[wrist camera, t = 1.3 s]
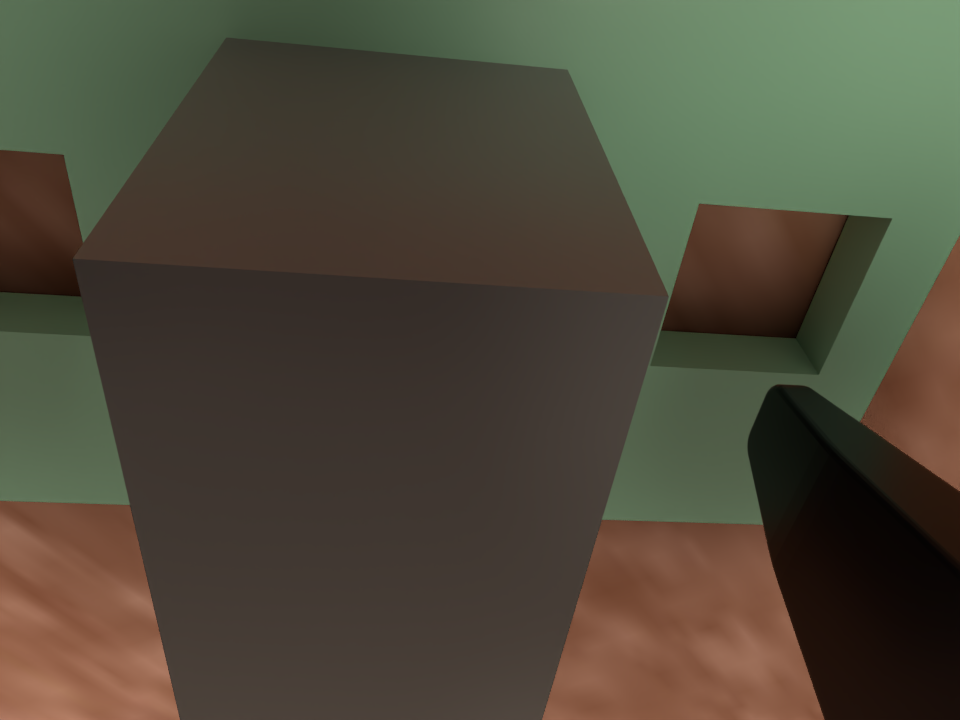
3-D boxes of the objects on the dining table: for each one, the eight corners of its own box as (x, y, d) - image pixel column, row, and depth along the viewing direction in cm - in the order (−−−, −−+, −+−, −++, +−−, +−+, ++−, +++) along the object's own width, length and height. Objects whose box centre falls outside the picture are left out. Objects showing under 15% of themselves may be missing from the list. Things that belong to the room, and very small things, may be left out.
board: (1060, -76, 10) (1662, 88, 5) (785, 487, 16) (939, 804, 11) (-379, -254, 8) (-1551, -258, 3) (-72, 455, 14) (-327, 816, 9)
